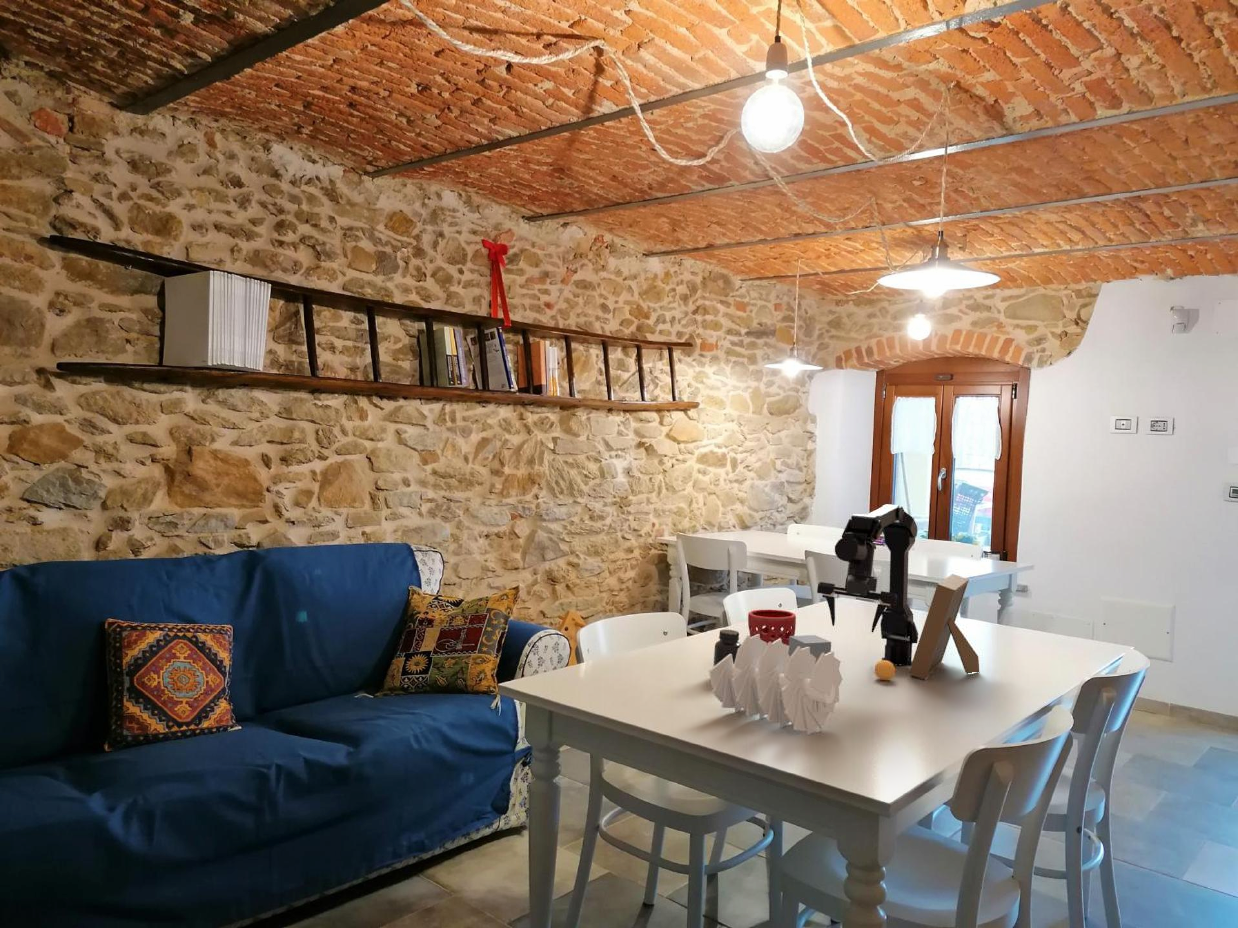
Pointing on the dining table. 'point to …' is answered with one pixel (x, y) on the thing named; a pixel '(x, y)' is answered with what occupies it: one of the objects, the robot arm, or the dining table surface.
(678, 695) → the dining table surface
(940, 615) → the photo frame
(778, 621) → the plant pot
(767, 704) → the spiral staircase
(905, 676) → the dining table surface
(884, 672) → the ball
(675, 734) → the dining table surface
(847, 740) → the dining table surface
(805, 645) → the grey block
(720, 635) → the supplement bottle
